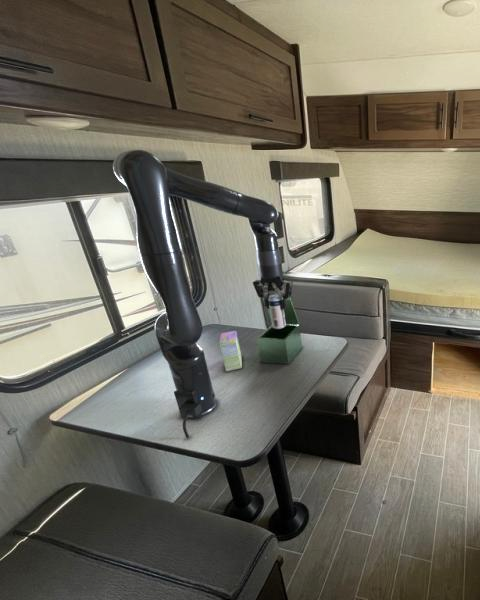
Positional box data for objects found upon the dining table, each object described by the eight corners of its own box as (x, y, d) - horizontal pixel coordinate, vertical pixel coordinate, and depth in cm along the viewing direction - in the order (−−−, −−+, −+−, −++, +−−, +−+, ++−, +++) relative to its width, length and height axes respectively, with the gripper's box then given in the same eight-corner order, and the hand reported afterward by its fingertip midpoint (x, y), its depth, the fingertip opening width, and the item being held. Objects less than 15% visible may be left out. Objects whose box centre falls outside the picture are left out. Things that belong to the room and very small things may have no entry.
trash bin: (288, 364, 127) (285, 339, 124) (261, 362, 129) (256, 338, 125) (302, 347, 140) (299, 324, 136) (276, 345, 141) (273, 323, 137)
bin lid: (289, 299, 126) (294, 290, 130) (262, 298, 127) (267, 289, 131) (299, 324, 136) (303, 315, 140) (273, 323, 137) (277, 314, 141)
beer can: (288, 326, 118) (284, 296, 113) (275, 330, 115) (270, 299, 110) (282, 322, 121) (278, 292, 117) (270, 326, 118) (265, 296, 114)
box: (226, 358, 131) (220, 333, 127) (241, 355, 133) (236, 330, 129) (225, 372, 122) (219, 344, 118) (241, 368, 124) (236, 341, 120)
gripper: (243, 264, 106) (252, 311, 112) (284, 265, 105) (290, 313, 111) (255, 259, 113) (263, 303, 119) (294, 260, 112) (299, 305, 118)
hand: (276, 308), depth 115 cm, fingers closed on beer can, 4 cm apart
